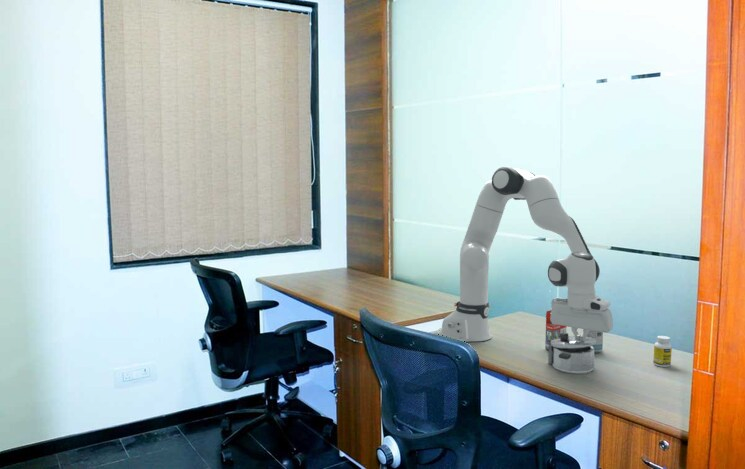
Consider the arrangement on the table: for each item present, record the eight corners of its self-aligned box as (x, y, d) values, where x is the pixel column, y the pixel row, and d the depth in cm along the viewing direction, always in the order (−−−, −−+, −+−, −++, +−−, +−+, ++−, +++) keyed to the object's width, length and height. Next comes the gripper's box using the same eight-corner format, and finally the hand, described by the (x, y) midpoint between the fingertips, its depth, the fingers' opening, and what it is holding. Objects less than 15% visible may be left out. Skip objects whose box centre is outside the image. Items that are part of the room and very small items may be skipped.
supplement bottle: (663, 368, 202) (665, 340, 201) (649, 363, 207) (651, 336, 206) (674, 365, 205) (675, 338, 203) (660, 361, 209) (661, 334, 208)
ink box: (566, 347, 226) (567, 309, 224) (552, 351, 221) (553, 313, 220) (558, 345, 229) (559, 308, 227) (544, 349, 224) (545, 311, 223)
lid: (542, 348, 203) (541, 338, 203) (559, 338, 214) (558, 328, 214) (586, 351, 193) (585, 340, 193) (602, 340, 204) (601, 330, 204)
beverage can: (600, 348, 224) (601, 317, 223) (604, 354, 217) (605, 322, 216) (580, 347, 225) (581, 316, 224) (584, 353, 218) (585, 321, 217)
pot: (539, 368, 203) (540, 349, 202) (560, 355, 216) (560, 337, 215) (582, 378, 194) (583, 357, 193) (601, 364, 207) (602, 344, 206)
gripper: (547, 298, 205) (547, 337, 206) (608, 306, 191) (607, 348, 193) (555, 295, 209) (554, 333, 211) (615, 303, 196) (613, 343, 198)
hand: (580, 340), depth 202 cm, fingers closed
